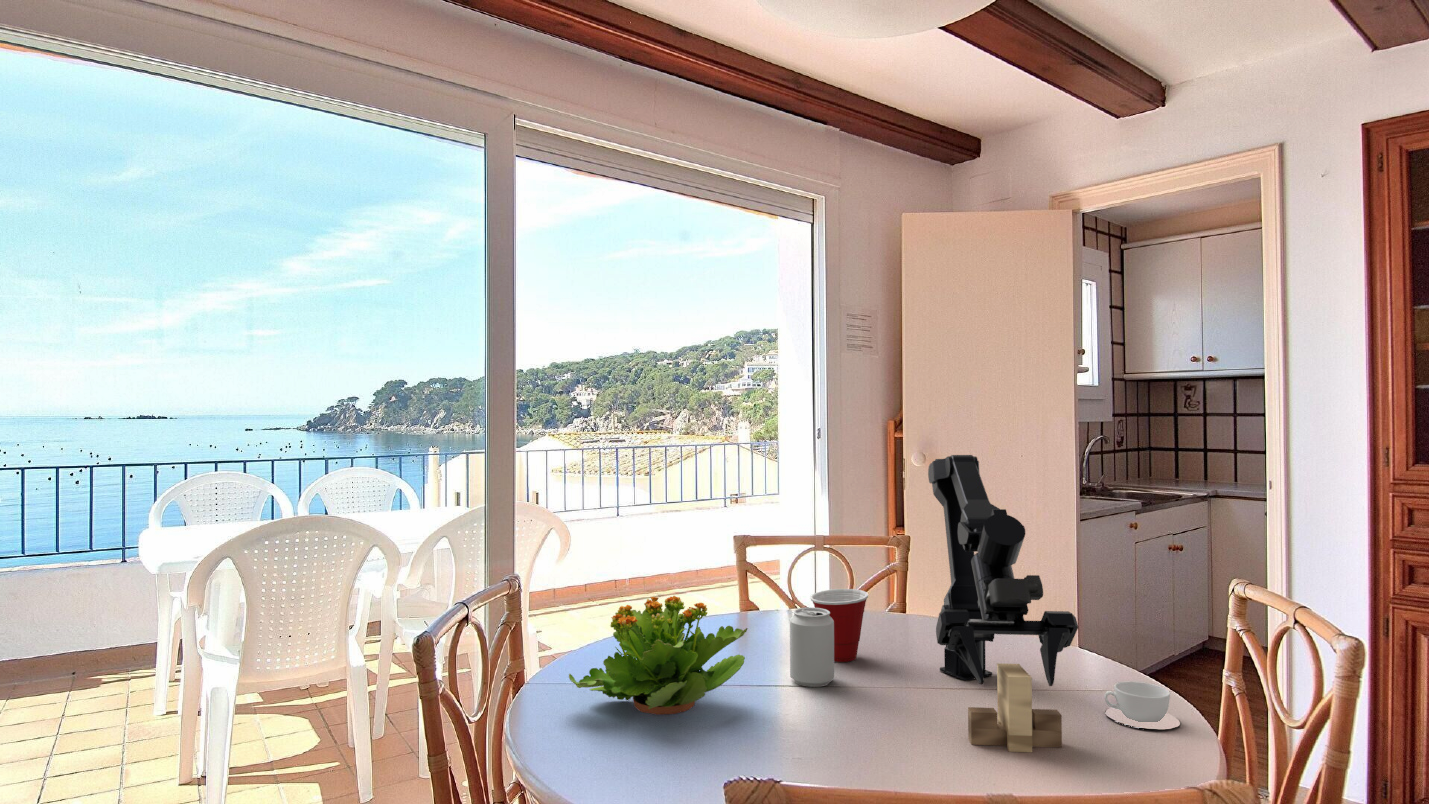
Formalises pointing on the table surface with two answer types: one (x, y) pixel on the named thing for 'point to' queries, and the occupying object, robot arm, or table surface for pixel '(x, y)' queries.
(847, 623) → the plastic cup
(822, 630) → the can
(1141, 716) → the teacup
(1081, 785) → the table surface
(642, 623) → the potted flower
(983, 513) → the robot arm
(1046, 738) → the lower notched wooden block
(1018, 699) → the tall wooden block
